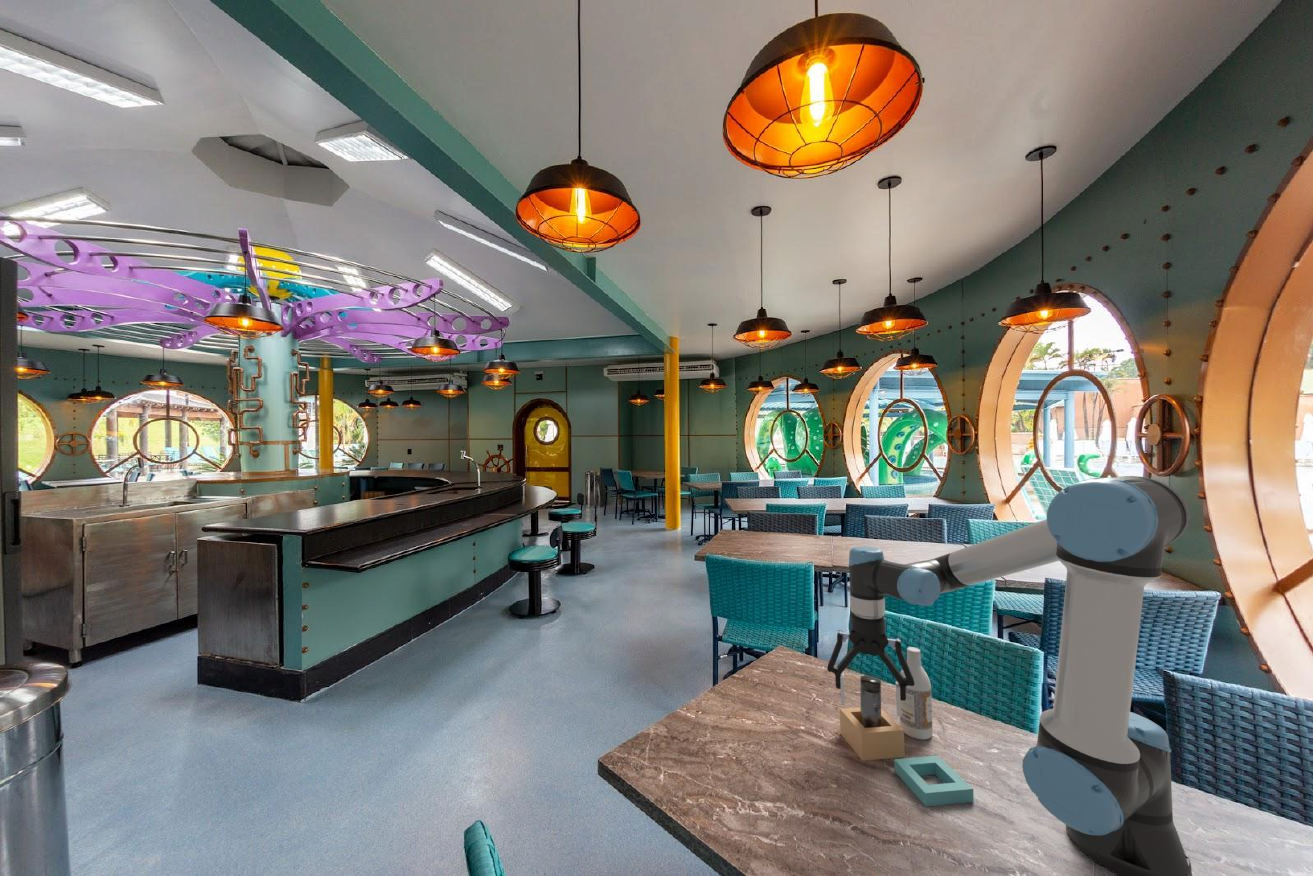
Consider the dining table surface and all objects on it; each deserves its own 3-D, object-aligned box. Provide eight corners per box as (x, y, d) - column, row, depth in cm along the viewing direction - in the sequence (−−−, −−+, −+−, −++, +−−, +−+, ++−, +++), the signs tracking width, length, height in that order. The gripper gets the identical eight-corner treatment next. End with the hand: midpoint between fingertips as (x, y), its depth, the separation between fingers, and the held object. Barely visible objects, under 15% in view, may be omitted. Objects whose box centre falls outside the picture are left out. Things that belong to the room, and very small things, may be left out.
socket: (904, 757, 104) (904, 730, 104) (862, 760, 103) (861, 733, 103) (879, 730, 114) (878, 706, 114) (840, 733, 113) (839, 708, 113)
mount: (973, 802, 91) (973, 789, 91) (925, 806, 90) (925, 793, 90) (938, 767, 101) (937, 755, 101) (894, 771, 100) (894, 759, 100)
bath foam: (927, 744, 108) (924, 658, 109) (896, 732, 113) (893, 649, 114) (936, 732, 113) (933, 649, 114) (905, 720, 118) (903, 641, 119)
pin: (885, 745, 107) (884, 684, 107) (867, 746, 106) (866, 684, 107) (874, 734, 111) (874, 675, 112) (856, 735, 111) (856, 675, 111)
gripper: (923, 615, 108) (926, 710, 107) (816, 602, 118) (819, 690, 117) (926, 626, 101) (930, 728, 101) (813, 612, 111) (815, 704, 110)
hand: (870, 707), depth 109 cm, fingers open, 11 cm apart
